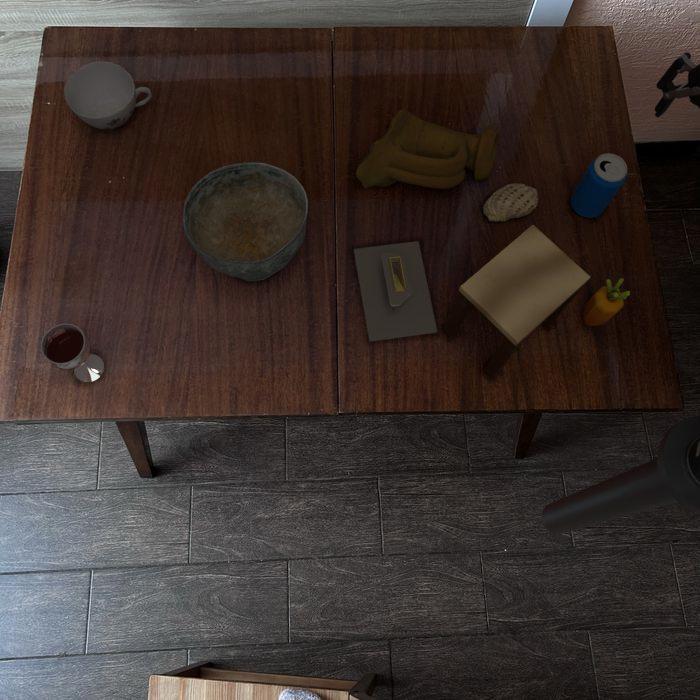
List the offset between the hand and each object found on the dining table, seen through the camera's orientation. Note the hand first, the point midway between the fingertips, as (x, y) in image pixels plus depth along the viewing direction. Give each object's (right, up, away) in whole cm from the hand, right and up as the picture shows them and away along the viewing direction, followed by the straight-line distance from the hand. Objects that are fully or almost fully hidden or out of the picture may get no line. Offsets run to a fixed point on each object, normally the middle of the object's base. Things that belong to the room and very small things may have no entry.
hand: (679, 131), depth 111 cm
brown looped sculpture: (-38, -1, +21) cm, 44 cm away
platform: (-45, -24, +13) cm, 52 cm away
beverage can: (-8, -8, +19) cm, 22 cm away
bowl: (-70, -17, +14) cm, 73 cm away
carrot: (-11, -30, +11) cm, 34 cm away
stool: (-27, -31, +11) cm, 42 cm away
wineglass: (-96, -38, +6) cm, 104 cm away
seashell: (-23, -9, +19) cm, 31 cm away
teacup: (-97, +10, +23) cm, 101 cm away
